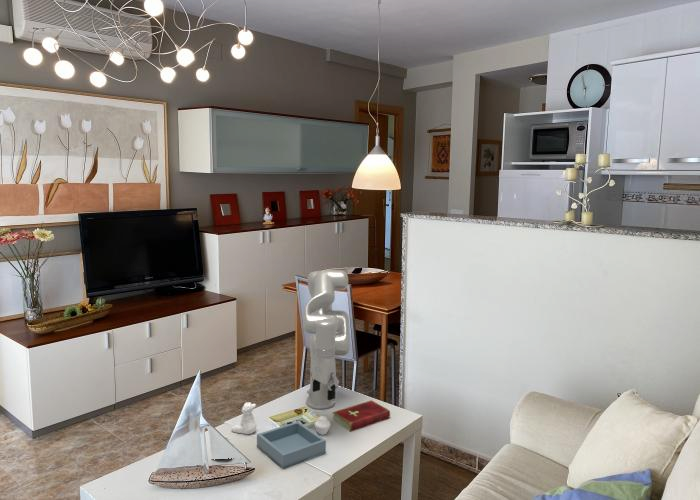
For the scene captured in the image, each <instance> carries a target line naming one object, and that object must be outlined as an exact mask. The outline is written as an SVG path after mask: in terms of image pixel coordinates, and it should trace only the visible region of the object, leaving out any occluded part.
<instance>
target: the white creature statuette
mask: <svg viewBox="0 0 700 500" xmlns="http://www.w3.org/2000/svg"><path fill="white" fill-rule="evenodd" d="M256 406H257V404H256V403H252V402H248V401H247V402H245V403H244V404H243V406H242V407H241V411H240V412H242V416H241V421H240V425H239V424H235V425H232V426H231V428H230V430H231V432H232V433H235V434H236V433H237V434H241V435H242V434H243V435H252V434H254V433H255V432H256V430H257V426H258V425H257V423H256V421H255V416H254V414H253V411H254V408H256Z"/></svg>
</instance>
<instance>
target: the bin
mask: <svg viewBox="0 0 700 500" xmlns="http://www.w3.org/2000/svg"><path fill="white" fill-rule="evenodd" d="M326 445H327V440H326V439H325V438H323V437H322V436H321V435H320V434H318V433H316V432H315V431H313V430H312V429H311V428H309V427H307V426H306V425H304V424H303V423H302V422H301V421H295V422H292V423H289V424H285V425H283V426H279V427H276V428H273V429H270V430H265V431H263V432H260V433H257V434H256V448H257V449H259V450H260V451H261V452H262V453H263V454H264V455H265V456H267V457H268V458H269V459H270V460H272V461H273V462H274V463H275V464H277V466H279V467H280V468H281V469H282V470H284V469H287V468H290V467H292V466H295V465H298V464H301V463H304V462H306V461H309V460H311V459H314V458H317V457H319V456H322V455H324V454H326V452H327V451H326V449H327V446H326Z"/></svg>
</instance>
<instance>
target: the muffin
mask: <svg viewBox="0 0 700 500" xmlns="http://www.w3.org/2000/svg"><path fill="white" fill-rule="evenodd" d="M314 427H315V430H316V432H317V435H319V436H323V435H326V434H327V432H328V431H329V430H330V427H331V422H330V421H329V420H328V417H327V416H326V415H319V417H318V418H317V420H316V421H315V422H314Z"/></svg>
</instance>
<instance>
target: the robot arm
mask: <svg viewBox="0 0 700 500" xmlns="http://www.w3.org/2000/svg"><path fill="white" fill-rule="evenodd" d="M348 286H349V276H348V273H347V271H345V270H342V269H341V270H340V269H338V270H337V269H336V270H335V269H322V270H316V271H312V272H309V274H308V275H307V287H308V291H309V295H310V297H311V298H310V299H309V300H308V301H307V303H306V304H305V306H304V307H303V312H302V313H303V314H302V326H303V331H304V332H305V333H306V334H311V336H309V337H310V338H309V340H308V343H309V353H310V354H309V355H310V368H309V372H310V377H309V379H310V381H309V389H307V391H306V393H307V394H308V397H307V398H306V400H305V404H306V405H307V406H308V407H310V408H312V409H314V410H315V409H316V410H326V409H330V408H332V407H334V406H335V403H336V400H335V399H336V390H337V388H338V387H339V383H340V379H338V376H337V369H336V368H337V365H336V364H337V363H336V358H335V356H340V357H341V356H347V355H348V354H349V352H350V349H351V348H350V347H351V340H350V339H351V337H350V335H351V333H350V318H349V315H348V313H347V312H346V311H344V310H333V303H334V302H335V300H336V299H335V298H336V297H335V296H336V295H335V294H336V293H335V291H345V290H347V288H348Z"/></svg>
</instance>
